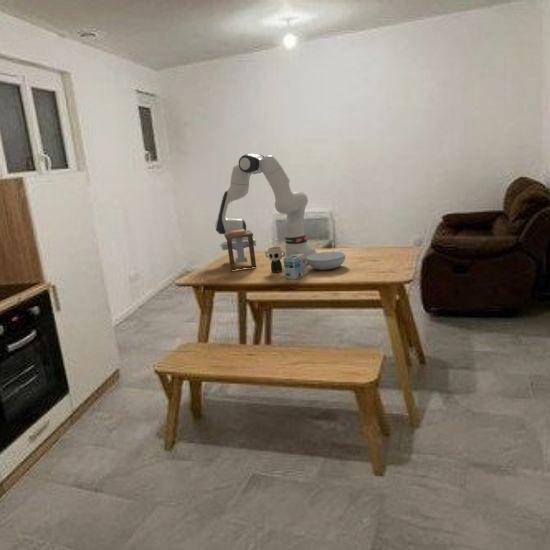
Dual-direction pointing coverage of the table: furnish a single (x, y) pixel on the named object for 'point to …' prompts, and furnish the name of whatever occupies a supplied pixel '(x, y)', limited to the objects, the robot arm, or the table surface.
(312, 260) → the serving bowl
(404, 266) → the table surface
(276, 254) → the character mug
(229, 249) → the brown wooden frame rack
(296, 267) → the light bulb box
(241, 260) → the hanging peg
